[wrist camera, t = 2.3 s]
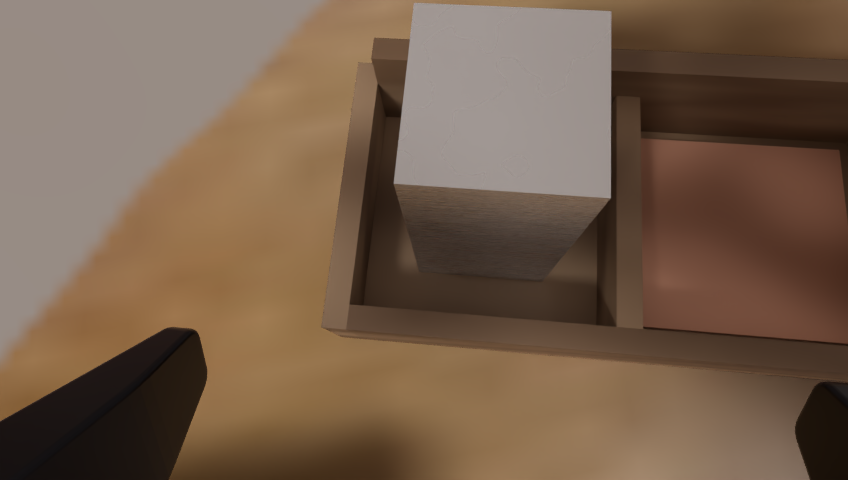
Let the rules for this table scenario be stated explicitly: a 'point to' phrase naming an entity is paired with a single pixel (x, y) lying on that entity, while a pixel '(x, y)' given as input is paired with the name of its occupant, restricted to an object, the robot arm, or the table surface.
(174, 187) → the table surface
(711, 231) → the divided wooden tray
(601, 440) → the table surface
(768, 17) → the table surface
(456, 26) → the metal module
